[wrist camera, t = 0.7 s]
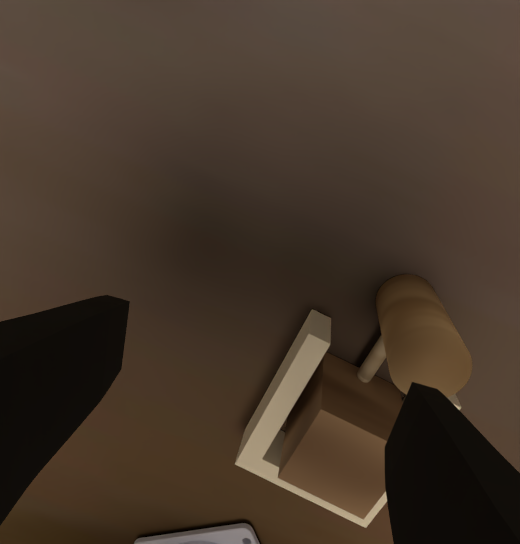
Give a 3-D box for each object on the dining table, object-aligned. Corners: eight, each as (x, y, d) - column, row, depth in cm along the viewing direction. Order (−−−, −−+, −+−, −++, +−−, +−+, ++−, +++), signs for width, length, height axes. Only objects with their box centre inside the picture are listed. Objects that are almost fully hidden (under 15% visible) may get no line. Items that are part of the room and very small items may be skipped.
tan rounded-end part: (358, 444, 22) (364, 541, 17) (288, 410, 22) (274, 497, 17) (462, 297, 19) (508, 363, 14) (379, 257, 19) (395, 308, 14)
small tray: (362, 486, 23) (365, 528, 21) (244, 429, 23) (234, 464, 21) (447, 374, 20) (461, 407, 18) (312, 309, 20) (308, 333, 18)
